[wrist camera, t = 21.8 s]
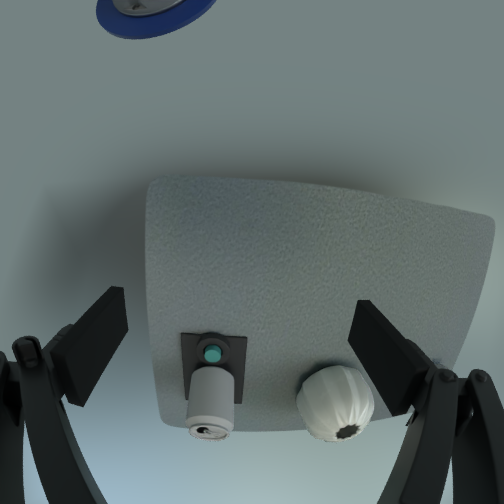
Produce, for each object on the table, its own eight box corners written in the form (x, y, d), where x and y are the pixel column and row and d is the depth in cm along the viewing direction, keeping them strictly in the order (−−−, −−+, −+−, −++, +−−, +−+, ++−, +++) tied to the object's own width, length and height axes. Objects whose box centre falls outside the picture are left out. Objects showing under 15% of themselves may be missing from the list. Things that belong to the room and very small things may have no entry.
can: (197, 358, 43) (189, 421, 33) (240, 369, 45) (240, 430, 34) (187, 381, 47) (180, 437, 36) (226, 390, 48) (224, 446, 38)
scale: (181, 328, 45) (178, 335, 42) (247, 333, 45) (247, 340, 43) (186, 398, 49) (184, 405, 47) (241, 401, 50) (241, 409, 48)
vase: (349, 403, 52) (369, 448, 39) (287, 407, 51) (298, 458, 38) (368, 354, 48) (397, 399, 35) (300, 356, 47) (317, 409, 34)
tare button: (205, 343, 43) (204, 349, 42) (221, 345, 44) (220, 350, 42) (205, 356, 44) (204, 361, 43) (220, 357, 44) (220, 363, 43)
